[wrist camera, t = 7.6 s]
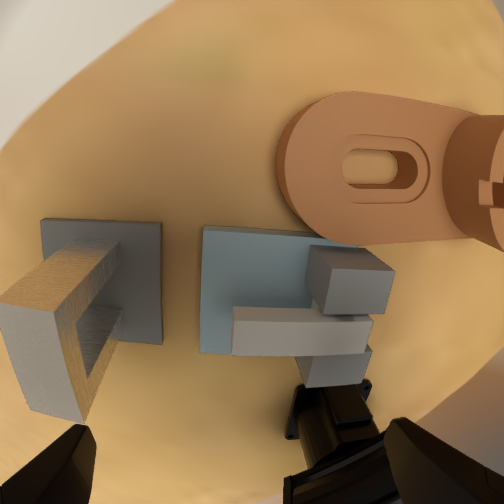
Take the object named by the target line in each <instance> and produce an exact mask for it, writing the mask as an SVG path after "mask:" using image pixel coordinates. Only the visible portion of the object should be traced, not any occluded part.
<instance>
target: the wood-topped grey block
mask: <svg viewBox="0 0 504 504" xmlns="http://www.w3.org/2000/svg"><path fill="white" fill-rule="evenodd" d="M119 265H120V241H107V240H90V239H74V240H72V241H71V242H69V243H68V244H67V245H65V246H64V247H62V248H61V249H60V250H58V251H57V252H55V253H54V254H53V255H51V256H50V257H49V258H47V259H46V260H45V261H43V262H42V263H41V264H39V265H38V266H37V267H36V268H34V269H33V270H32V271H30V272H29V273H28V274H27V275H25V276H24V277H23V278H21V279H20V280H19V281H18V282H16V283H15V284H14V285H13V286H12V287H10V288H9V289H8V290H7V291H5V292H4V293H3V294H2V295H1V296H0V329H1V332H2V335H3V339H4V342H5V345H6V348H7V351H8V354H9V357H10V360H11V363H12V366H13V369H14V371H15V374H16V377H17V379H18V382H19V384H20V387H21V389H22V392H23V394H24V396H25V399H26V401H27V403H28V406H29V408H30V410H32V411H36V412H39V413H43V414H46V415H50V416H54V417H58V418H61V419H66V420H70V421H74V422H78V423H83V424H85V421H86V418H87V416H88V413H89V411H90V408H91V405H92V403H93V400H94V398H95V395H96V393H97V391H98V388H99V386H100V383H101V381H102V378H103V376H104V374H105V371H106V369H107V367H108V364H109V362H110V360H111V357H112V355H113V353H114V351H115V348H116V346H117V344H118V342H119V340H120V337H121V335H122V333H123V331H124V329H125V322H124V311H123V308H113V307H104V306H95V305H89V304H90V303H91V302H92V300H93V299H94V298H95V296H96V295H97V293H98V292H99V291H100V290H101V288H102V287H103V286H104V284H105V283H106V282H107V280H108V279H109V278H110V276H111V275H112V274H113V273H114V271H115V270H116V269H117V267H118V266H119Z"/></svg>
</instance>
